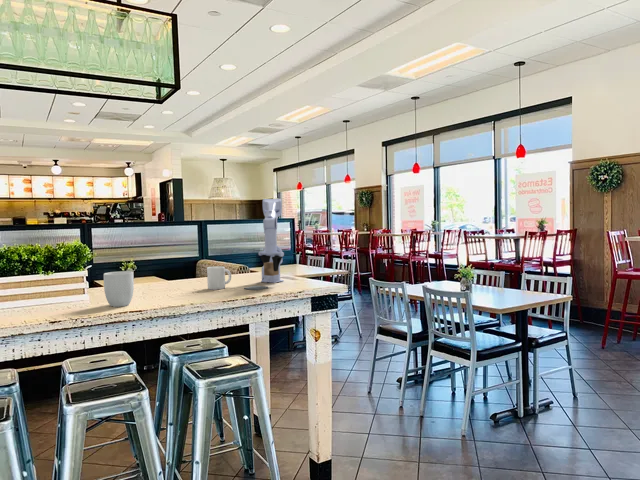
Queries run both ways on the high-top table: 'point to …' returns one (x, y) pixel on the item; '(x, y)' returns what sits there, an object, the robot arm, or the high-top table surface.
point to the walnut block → (270, 269)
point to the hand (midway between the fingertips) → (271, 270)
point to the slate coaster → (256, 287)
